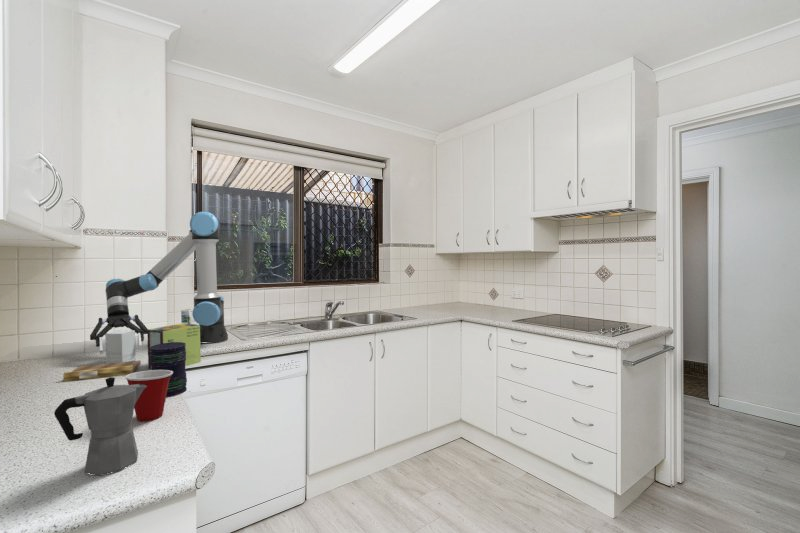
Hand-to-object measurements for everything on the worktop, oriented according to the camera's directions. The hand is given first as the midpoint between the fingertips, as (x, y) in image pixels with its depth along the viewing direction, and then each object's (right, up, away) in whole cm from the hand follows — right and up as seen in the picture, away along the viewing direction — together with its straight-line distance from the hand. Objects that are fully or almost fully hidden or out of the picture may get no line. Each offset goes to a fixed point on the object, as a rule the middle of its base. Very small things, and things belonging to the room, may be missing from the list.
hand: (121, 349), depth 157 cm
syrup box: (-4, -4, +57) cm, 57 cm away
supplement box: (-2, -6, +2) cm, 6 cm away
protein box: (+24, -6, -4) cm, 25 cm away
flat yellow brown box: (+3, -6, -12) cm, 14 cm away
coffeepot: (+54, -7, -78) cm, 95 cm away
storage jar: (+41, -6, -35) cm, 54 cm away
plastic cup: (+47, -7, -54) cm, 72 cm away
